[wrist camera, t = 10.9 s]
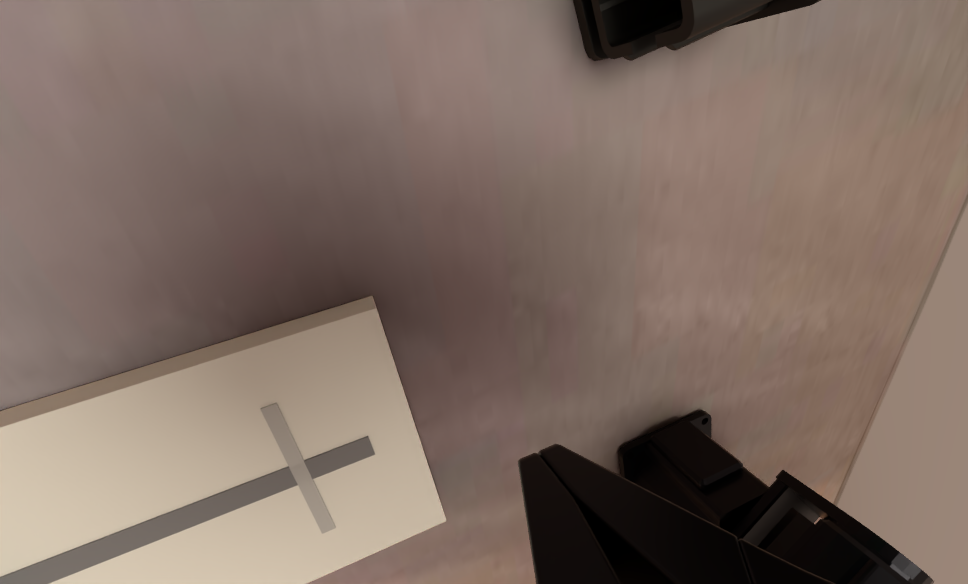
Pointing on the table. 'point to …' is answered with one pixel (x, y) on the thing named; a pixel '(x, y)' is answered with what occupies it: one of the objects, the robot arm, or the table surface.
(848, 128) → the table surface
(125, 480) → the fader panel
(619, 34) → the end cap
